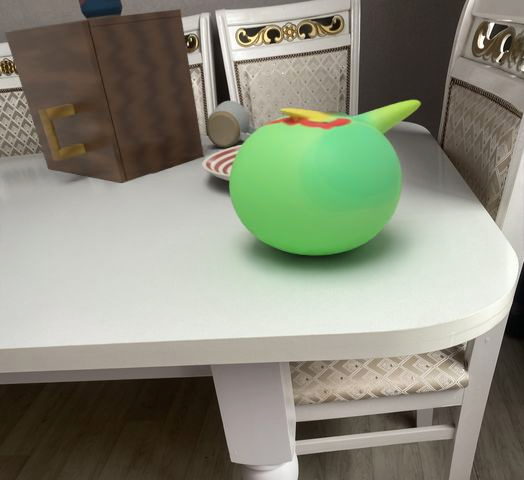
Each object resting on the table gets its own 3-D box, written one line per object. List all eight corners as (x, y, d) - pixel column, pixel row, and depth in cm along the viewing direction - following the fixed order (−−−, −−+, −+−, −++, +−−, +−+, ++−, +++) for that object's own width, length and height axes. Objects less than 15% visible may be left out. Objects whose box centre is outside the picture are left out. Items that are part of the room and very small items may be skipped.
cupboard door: (92, 192, 87) (46, 25, 74) (21, 176, 103) (-28, 36, 90) (126, 181, 91) (87, 20, 78) (52, 167, 107) (9, 31, 94)
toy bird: (209, 258, 59) (185, 117, 51) (299, 211, 69) (291, 87, 61) (347, 295, 48) (344, 123, 40) (429, 232, 58) (440, 86, 50)
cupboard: (127, 181, 91) (88, 19, 78) (53, 167, 107) (10, 30, 94) (203, 156, 101) (180, 9, 88) (126, 146, 117) (96, 20, 104)
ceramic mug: (206, 150, 105) (201, 108, 101) (217, 140, 112) (211, 101, 108) (258, 147, 103) (254, 105, 99) (265, 138, 110) (262, 98, 106)
